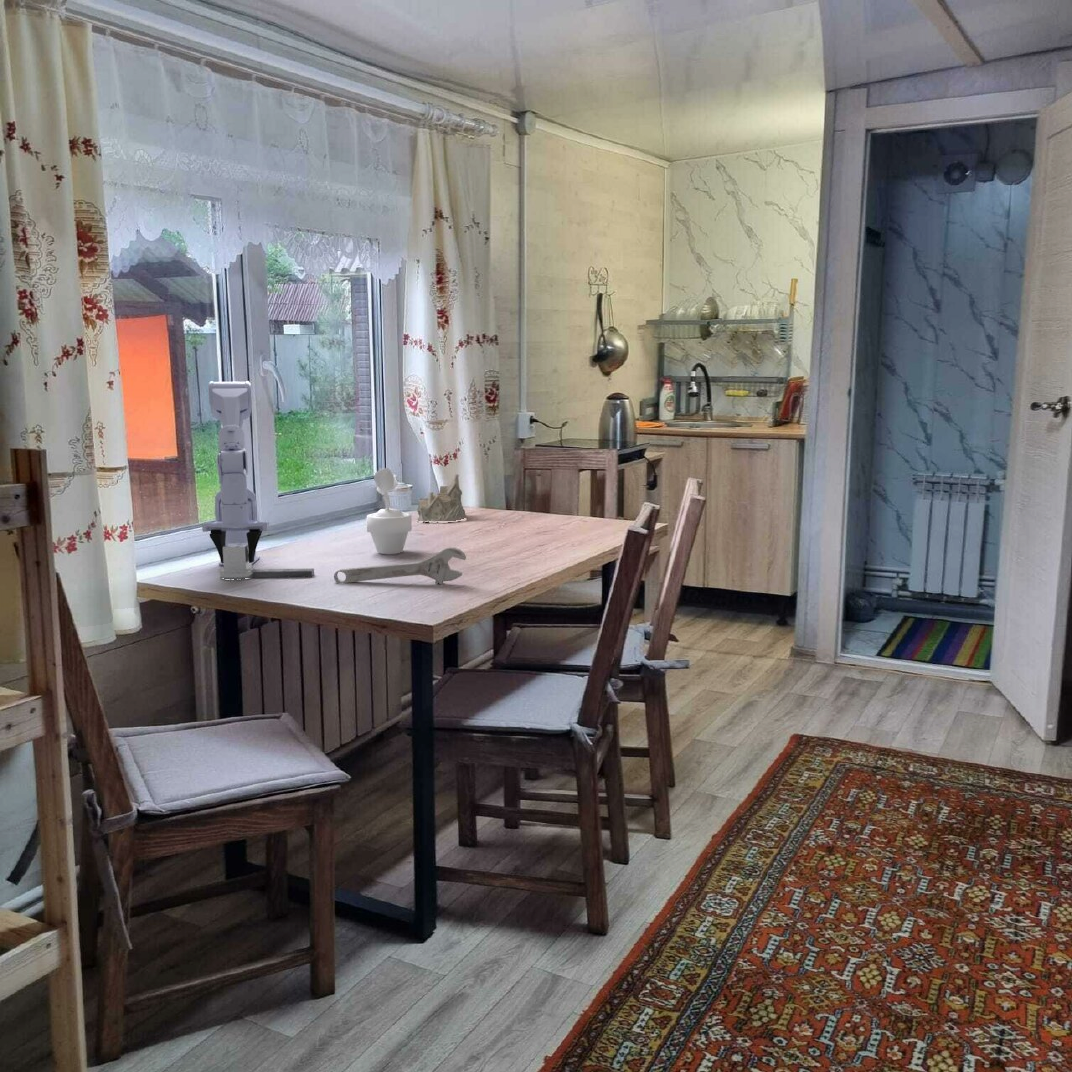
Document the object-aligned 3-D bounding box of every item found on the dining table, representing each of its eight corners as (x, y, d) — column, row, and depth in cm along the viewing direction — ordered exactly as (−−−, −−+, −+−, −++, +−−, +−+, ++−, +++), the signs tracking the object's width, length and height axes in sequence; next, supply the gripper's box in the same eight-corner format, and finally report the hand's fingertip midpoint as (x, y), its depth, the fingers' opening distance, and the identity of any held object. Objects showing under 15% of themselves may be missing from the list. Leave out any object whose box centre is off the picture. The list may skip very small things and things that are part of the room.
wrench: (338, 594, 227) (469, 581, 224) (336, 595, 226) (468, 583, 222) (333, 559, 226) (464, 545, 223) (331, 560, 224) (463, 547, 221)
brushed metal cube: (229, 568, 234) (228, 543, 233) (251, 568, 234) (250, 542, 233) (224, 573, 229) (222, 546, 228) (246, 572, 229) (244, 546, 228)
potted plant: (404, 557, 254) (402, 458, 250) (360, 555, 257) (357, 457, 253) (420, 548, 267) (418, 453, 262) (378, 547, 269) (375, 453, 265)
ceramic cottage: (466, 515, 326) (462, 468, 322) (468, 524, 310) (464, 476, 306) (418, 518, 324) (413, 472, 321) (417, 529, 308) (412, 480, 305)
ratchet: (225, 573, 236) (224, 552, 235) (316, 572, 236) (315, 551, 236) (216, 580, 228) (214, 559, 227) (310, 579, 229) (309, 558, 228)
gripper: (196, 505, 225) (200, 565, 227) (262, 505, 225) (265, 565, 228) (205, 501, 232) (209, 559, 234) (269, 501, 232) (272, 559, 235)
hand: (237, 562), depth 231 cm, fingers open, 6 cm apart
